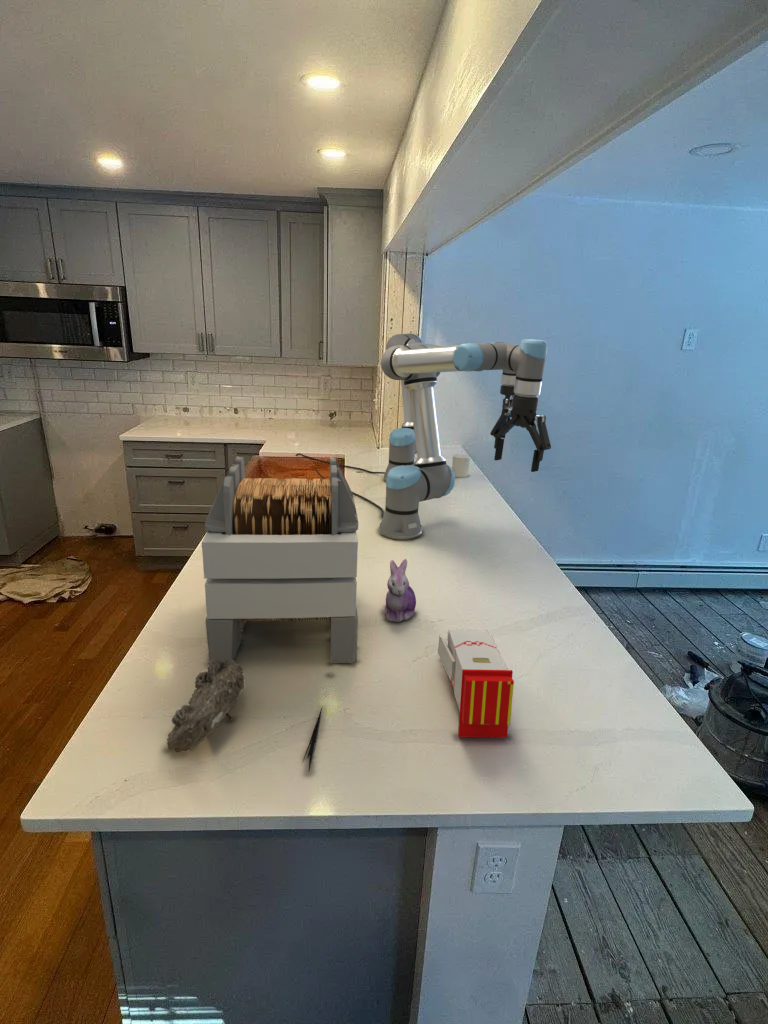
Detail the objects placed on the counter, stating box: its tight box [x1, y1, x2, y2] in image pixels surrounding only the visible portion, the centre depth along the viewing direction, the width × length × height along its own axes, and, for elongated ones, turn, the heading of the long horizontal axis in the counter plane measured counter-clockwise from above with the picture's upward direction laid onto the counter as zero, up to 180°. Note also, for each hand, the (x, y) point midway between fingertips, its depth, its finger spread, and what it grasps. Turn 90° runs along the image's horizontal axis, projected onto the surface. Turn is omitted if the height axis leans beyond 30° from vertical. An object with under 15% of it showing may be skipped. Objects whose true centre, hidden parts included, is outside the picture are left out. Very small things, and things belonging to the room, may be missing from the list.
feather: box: [301, 673, 332, 771], centre depth 108 cm, size 2×28×2 cm
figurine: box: [384, 558, 417, 623], centre depth 145 cm, size 9×10×15 cm
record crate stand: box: [201, 455, 359, 666], centre depth 133 cm, size 34×33×41 cm
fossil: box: [166, 659, 245, 754], centre depth 106 cm, size 22×10×15 cm
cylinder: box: [451, 453, 471, 478], centre depth 273 cm, size 8×8×10 cm
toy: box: [437, 628, 515, 738], centre depth 117 cm, size 12×13×30 cm
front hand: (515, 465), depth 172 cm, fingers open, 13 cm apart
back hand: (503, 434), depth 247 cm, fingers open, 13 cm apart
